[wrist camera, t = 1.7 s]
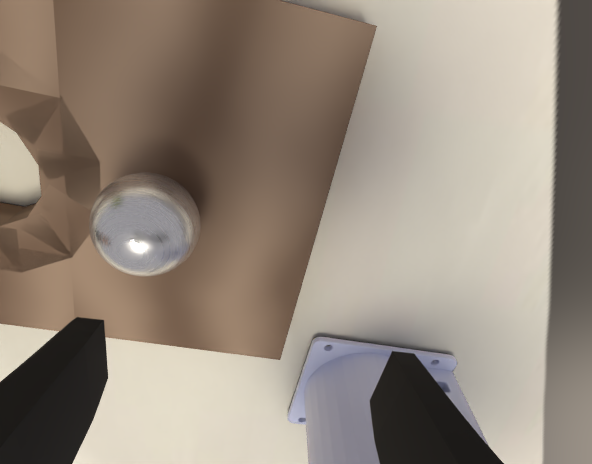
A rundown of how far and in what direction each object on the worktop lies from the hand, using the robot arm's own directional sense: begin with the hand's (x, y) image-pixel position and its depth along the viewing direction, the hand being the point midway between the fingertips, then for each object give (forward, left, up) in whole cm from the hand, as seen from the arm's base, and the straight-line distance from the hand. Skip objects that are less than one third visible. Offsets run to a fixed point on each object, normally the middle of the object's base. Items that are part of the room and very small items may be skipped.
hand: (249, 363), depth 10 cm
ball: (+4, 0, -6) cm, 8 cm away
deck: (+7, 0, -10) cm, 13 cm away
